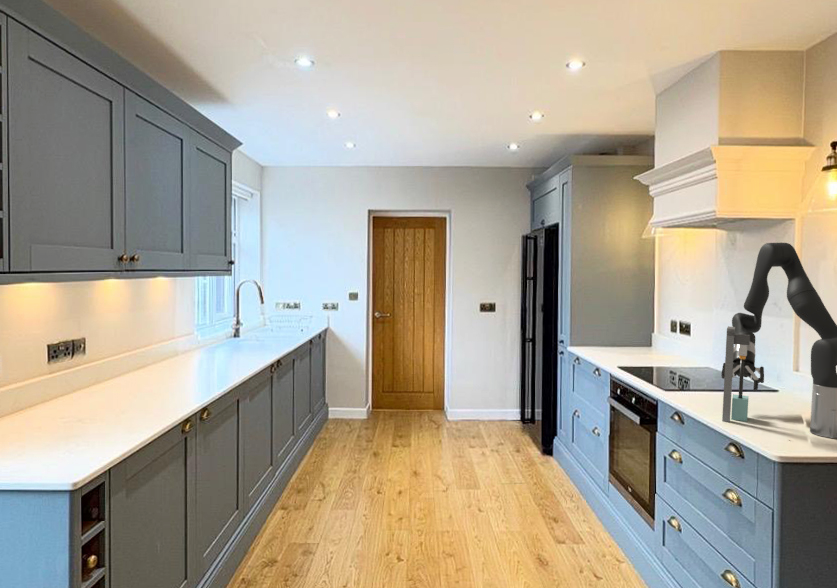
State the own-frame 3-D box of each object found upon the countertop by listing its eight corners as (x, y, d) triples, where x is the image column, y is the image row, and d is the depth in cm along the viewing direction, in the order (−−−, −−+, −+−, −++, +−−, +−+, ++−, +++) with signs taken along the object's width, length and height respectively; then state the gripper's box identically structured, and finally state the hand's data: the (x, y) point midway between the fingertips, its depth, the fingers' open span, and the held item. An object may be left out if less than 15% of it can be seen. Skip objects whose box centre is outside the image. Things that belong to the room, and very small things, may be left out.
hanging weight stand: (723, 419, 212) (728, 326, 210) (745, 422, 209) (750, 327, 206) (722, 424, 206) (726, 328, 204) (744, 427, 202) (750, 330, 200)
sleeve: (732, 415, 214) (733, 394, 213) (747, 417, 211) (748, 396, 211) (731, 419, 208) (732, 397, 208) (746, 421, 206) (748, 399, 205)
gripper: (723, 347, 225) (720, 380, 216) (765, 350, 218) (763, 385, 209) (723, 358, 230) (720, 391, 221) (764, 362, 223) (763, 396, 214)
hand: (741, 388), depth 215 cm, fingers open, 8 cm apart
